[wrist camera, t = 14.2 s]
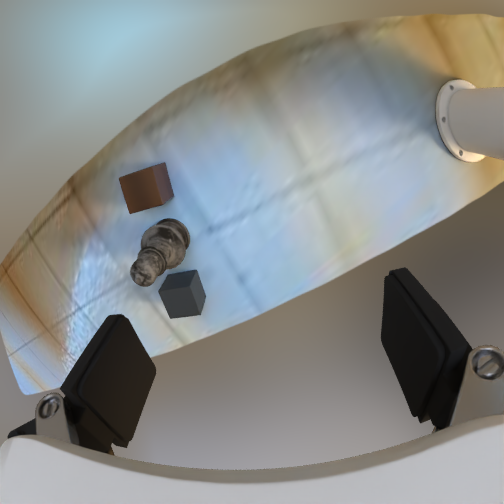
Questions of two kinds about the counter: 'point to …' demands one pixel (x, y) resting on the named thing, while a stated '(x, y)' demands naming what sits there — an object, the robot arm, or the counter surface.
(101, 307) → the counter surface
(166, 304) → the slate block
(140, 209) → the walnut block
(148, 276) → the stone chess piece
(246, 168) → the counter surface
